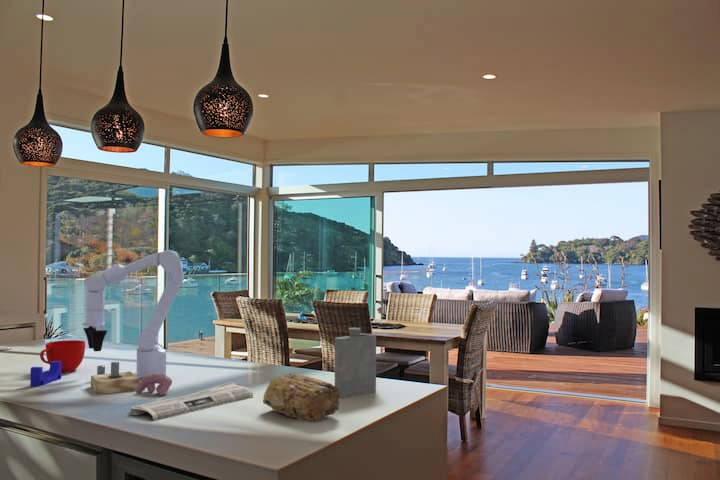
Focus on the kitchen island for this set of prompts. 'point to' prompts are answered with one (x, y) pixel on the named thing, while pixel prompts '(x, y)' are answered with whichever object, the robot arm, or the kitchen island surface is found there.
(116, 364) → the long pin
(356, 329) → the hip flask
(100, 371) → the short pin
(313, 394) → the petrified wood
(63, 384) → the kitchen island surface
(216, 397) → the newspaper
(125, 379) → the bore block
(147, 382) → the pink textured arched piece
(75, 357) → the ceramic cup
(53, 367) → the cable clip
